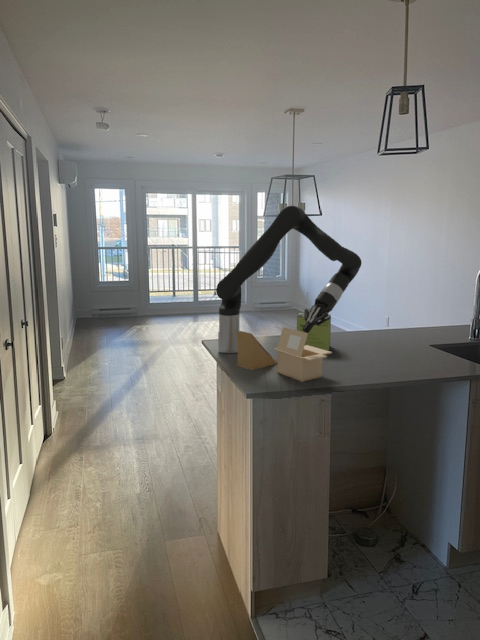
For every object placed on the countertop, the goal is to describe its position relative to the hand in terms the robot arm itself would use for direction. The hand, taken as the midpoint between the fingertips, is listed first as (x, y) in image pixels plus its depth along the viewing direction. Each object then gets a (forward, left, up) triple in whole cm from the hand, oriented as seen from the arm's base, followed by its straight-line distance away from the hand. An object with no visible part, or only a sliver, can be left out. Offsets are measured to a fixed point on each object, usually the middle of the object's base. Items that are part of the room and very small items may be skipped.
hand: (304, 331), depth 185 cm
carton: (0, 0, -17) cm, 17 cm away
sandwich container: (-19, +11, -17) cm, 28 cm away
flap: (-5, -4, -3) cm, 7 cm away
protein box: (+4, +43, -17) cm, 47 cm away
